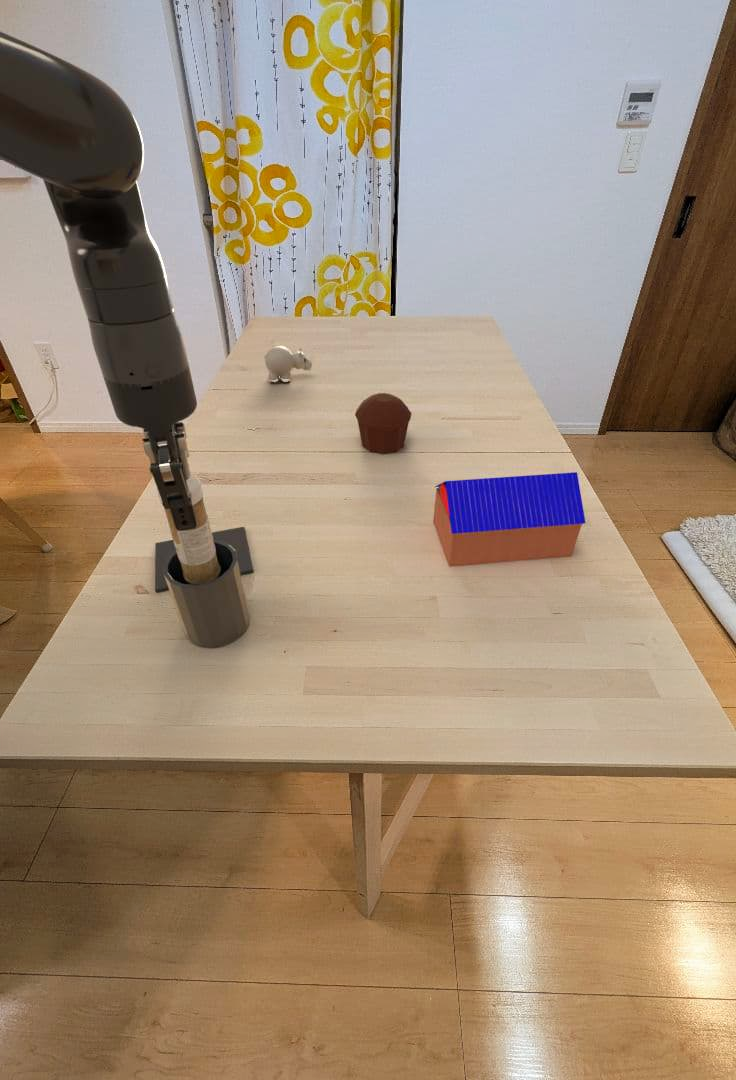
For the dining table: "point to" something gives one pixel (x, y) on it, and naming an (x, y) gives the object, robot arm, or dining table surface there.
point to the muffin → (383, 423)
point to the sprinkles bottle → (195, 541)
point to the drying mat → (230, 536)
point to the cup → (210, 601)
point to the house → (508, 518)
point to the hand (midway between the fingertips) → (186, 513)
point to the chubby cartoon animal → (285, 362)
